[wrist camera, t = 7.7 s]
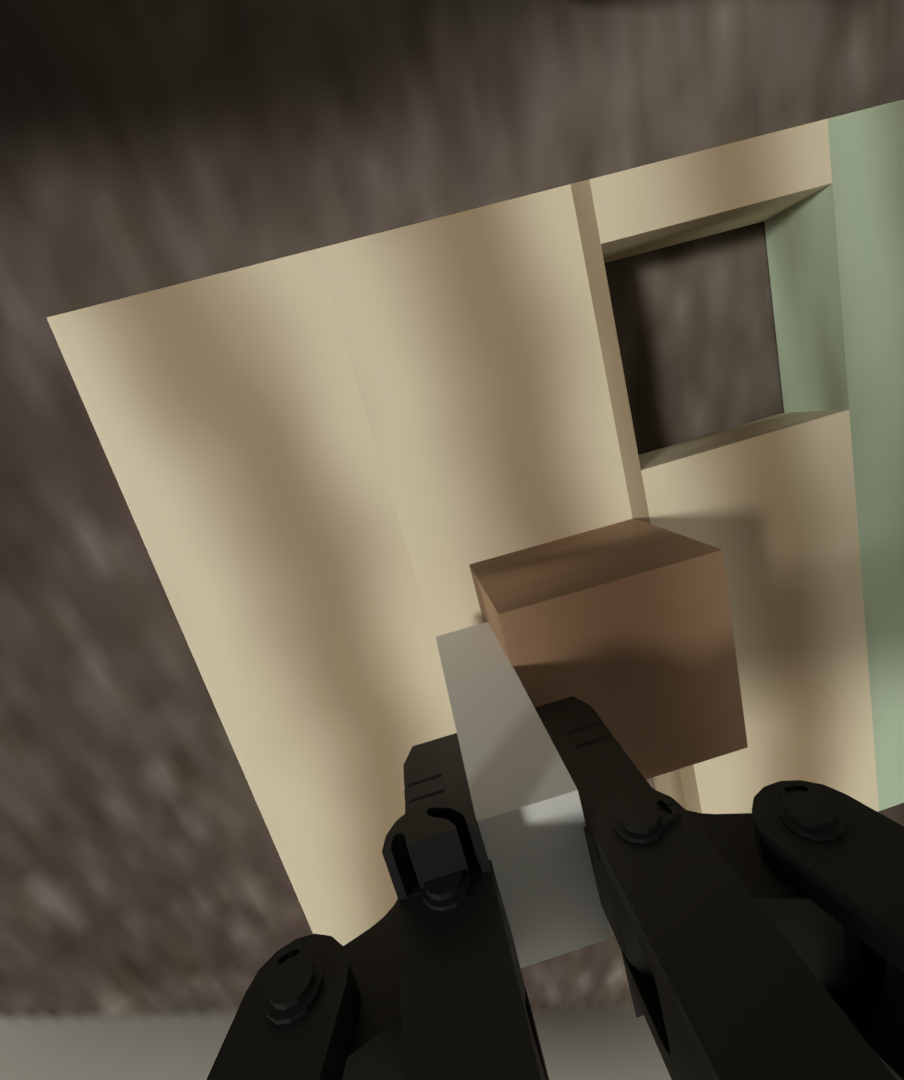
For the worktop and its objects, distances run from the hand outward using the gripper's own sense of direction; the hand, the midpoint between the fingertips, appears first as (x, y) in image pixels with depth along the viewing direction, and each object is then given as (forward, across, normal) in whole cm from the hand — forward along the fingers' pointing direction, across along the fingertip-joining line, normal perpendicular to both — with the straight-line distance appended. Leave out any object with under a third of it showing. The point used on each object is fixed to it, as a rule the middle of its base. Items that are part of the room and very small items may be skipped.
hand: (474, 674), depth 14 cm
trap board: (+4, +7, 0) cm, 8 cm away
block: (+1, +3, 0) cm, 3 cm away
